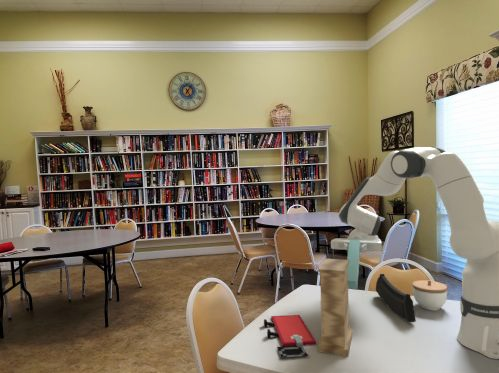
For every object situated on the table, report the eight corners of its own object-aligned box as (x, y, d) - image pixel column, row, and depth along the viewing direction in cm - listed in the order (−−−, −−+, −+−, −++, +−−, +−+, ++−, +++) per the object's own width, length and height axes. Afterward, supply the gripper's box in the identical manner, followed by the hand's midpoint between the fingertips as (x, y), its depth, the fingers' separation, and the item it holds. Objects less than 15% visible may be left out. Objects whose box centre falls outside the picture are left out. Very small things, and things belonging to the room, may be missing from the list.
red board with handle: (274, 360, 100) (323, 357, 101) (274, 351, 100) (323, 348, 101) (261, 320, 130) (299, 318, 131) (261, 313, 130) (299, 311, 131)
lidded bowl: (406, 306, 138) (406, 279, 137) (421, 299, 145) (421, 273, 145) (438, 315, 127) (438, 287, 127) (453, 307, 135) (452, 280, 135)
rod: (360, 247, 135) (359, 240, 134) (357, 289, 118) (356, 281, 116) (350, 247, 137) (349, 239, 135) (345, 288, 120) (344, 280, 118)
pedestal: (352, 334, 115) (350, 259, 114) (348, 356, 101) (346, 271, 100) (326, 330, 118) (324, 258, 117) (318, 351, 104) (316, 269, 104)
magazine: (419, 303, 118) (385, 259, 146) (409, 303, 118) (378, 259, 146) (413, 342, 123) (382, 292, 151) (404, 342, 123) (374, 292, 151)
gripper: (332, 234, 149) (327, 239, 137) (381, 235, 141) (381, 241, 129) (333, 248, 149) (328, 254, 137) (382, 250, 142) (381, 257, 129)
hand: (354, 248), depth 133 cm, fingers closed on rod, 4 cm apart
